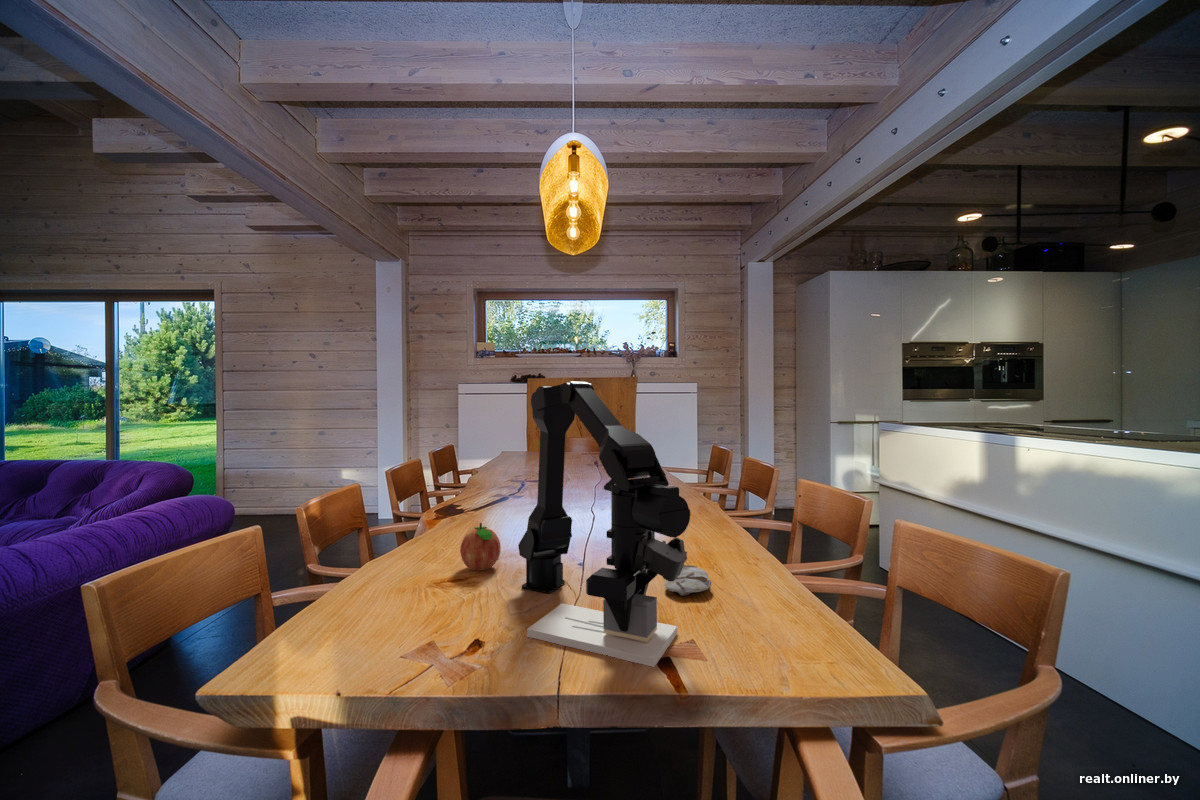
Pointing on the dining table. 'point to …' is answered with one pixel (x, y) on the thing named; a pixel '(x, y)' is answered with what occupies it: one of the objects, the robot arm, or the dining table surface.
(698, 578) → the stone
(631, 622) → the block
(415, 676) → the dining table surface
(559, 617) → the board
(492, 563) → the fruit
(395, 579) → the dining table surface
